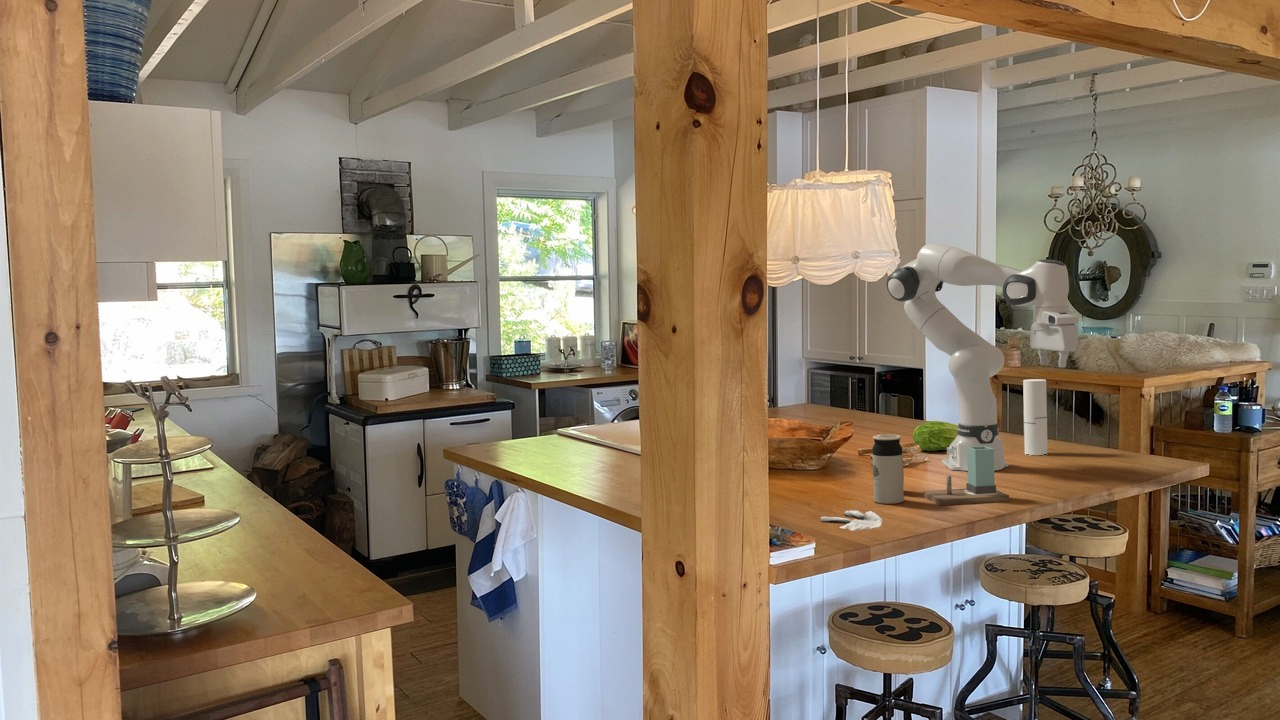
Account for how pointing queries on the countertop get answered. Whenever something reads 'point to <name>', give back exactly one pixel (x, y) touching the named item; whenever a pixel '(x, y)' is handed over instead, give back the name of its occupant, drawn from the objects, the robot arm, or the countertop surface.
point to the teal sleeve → (980, 470)
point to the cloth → (868, 521)
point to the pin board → (962, 496)
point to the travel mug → (887, 469)
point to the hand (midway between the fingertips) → (1053, 366)
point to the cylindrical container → (1035, 416)
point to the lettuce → (935, 435)
